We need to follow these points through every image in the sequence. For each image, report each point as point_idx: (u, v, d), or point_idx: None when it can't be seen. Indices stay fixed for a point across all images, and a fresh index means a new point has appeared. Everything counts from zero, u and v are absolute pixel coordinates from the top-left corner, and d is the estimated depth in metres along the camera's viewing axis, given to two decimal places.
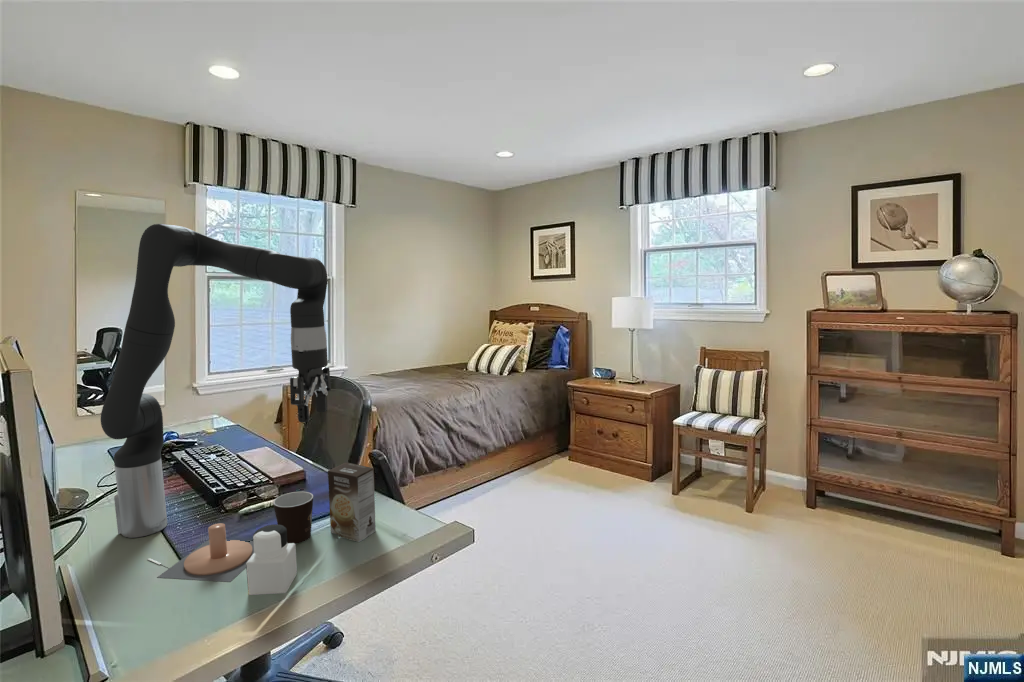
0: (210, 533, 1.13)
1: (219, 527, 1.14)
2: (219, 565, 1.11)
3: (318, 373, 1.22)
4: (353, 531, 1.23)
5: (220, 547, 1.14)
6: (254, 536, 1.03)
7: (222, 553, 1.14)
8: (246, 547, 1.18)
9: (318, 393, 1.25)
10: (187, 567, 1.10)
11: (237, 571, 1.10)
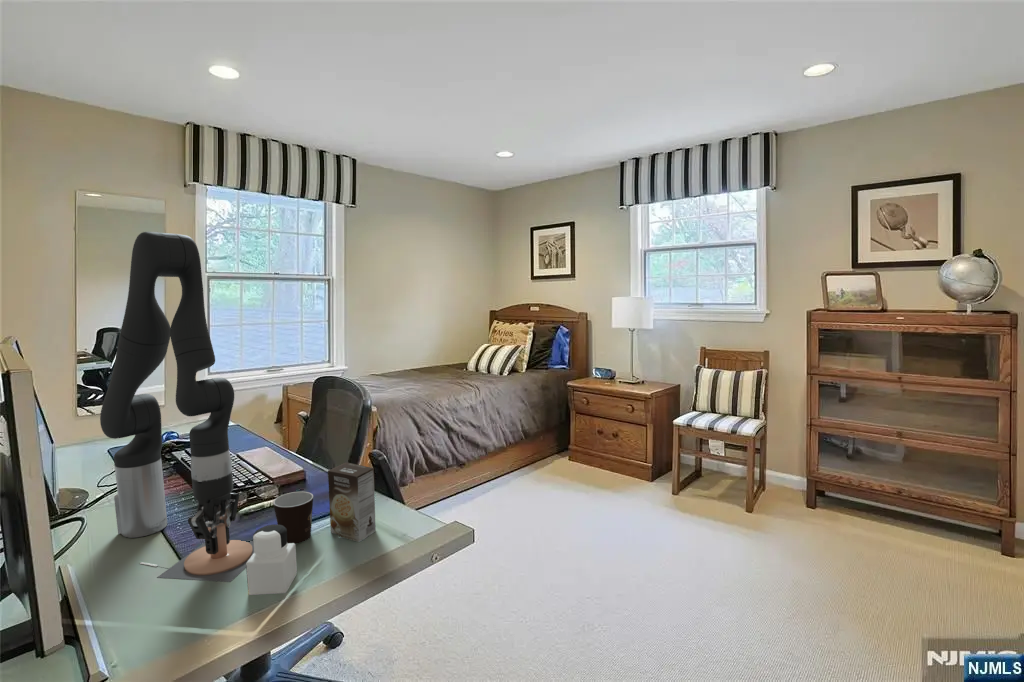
0: None
1: (219, 527, 1.14)
2: (219, 565, 1.11)
3: (223, 498, 1.15)
4: (353, 531, 1.23)
5: (220, 546, 1.14)
6: (254, 536, 1.03)
7: (222, 553, 1.14)
8: (246, 547, 1.18)
9: None
10: (187, 567, 1.10)
11: (237, 571, 1.10)
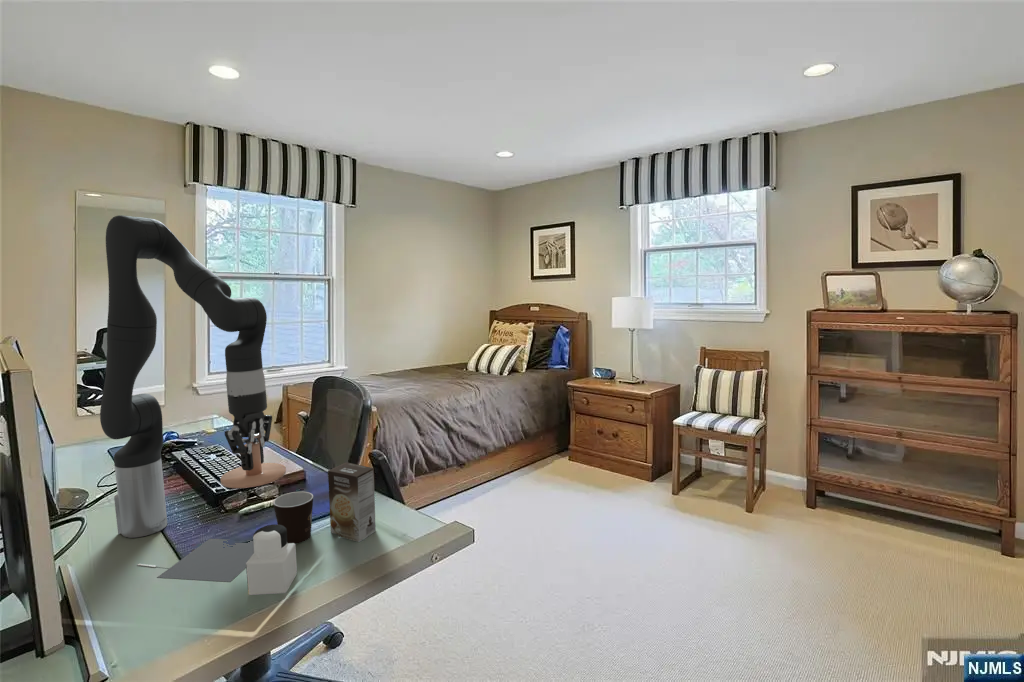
0: None
1: (254, 445, 1.16)
2: (255, 480, 1.13)
3: (257, 417, 1.17)
4: (353, 531, 1.23)
5: (255, 463, 1.16)
6: (254, 536, 1.03)
7: (257, 470, 1.16)
8: (279, 467, 1.20)
9: None
10: (224, 481, 1.13)
11: (237, 571, 1.10)
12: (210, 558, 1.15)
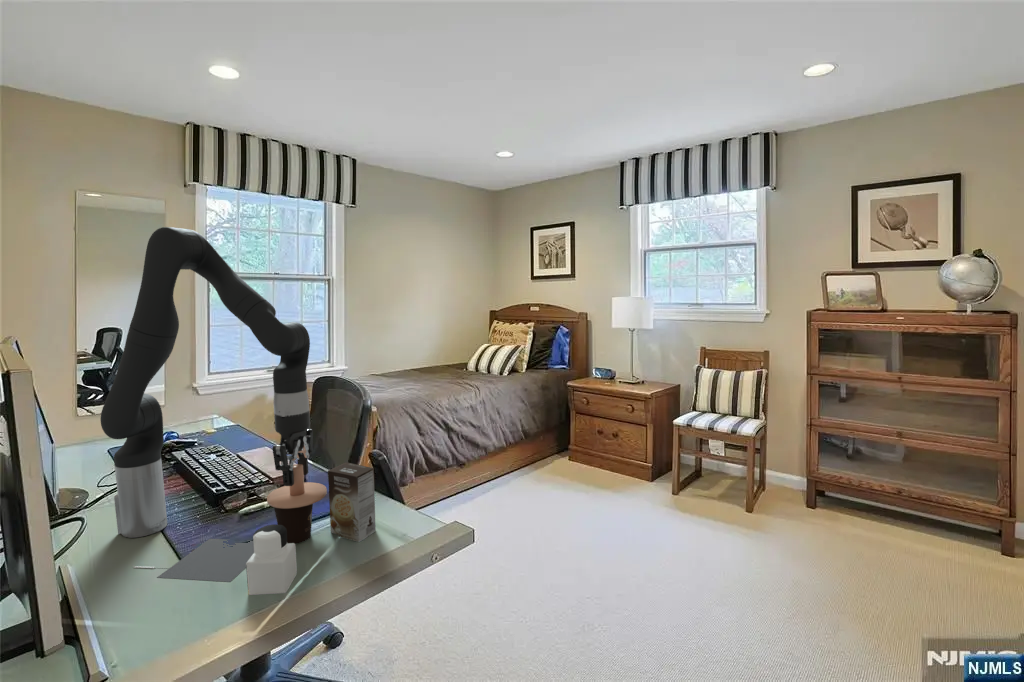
0: None
1: (298, 467, 1.23)
2: (300, 500, 1.20)
3: (301, 435, 1.24)
4: (353, 531, 1.23)
5: (299, 484, 1.23)
6: (254, 536, 1.03)
7: (301, 491, 1.23)
8: (320, 487, 1.28)
9: (299, 456, 1.27)
10: (271, 502, 1.20)
11: (237, 571, 1.10)
12: (210, 558, 1.15)
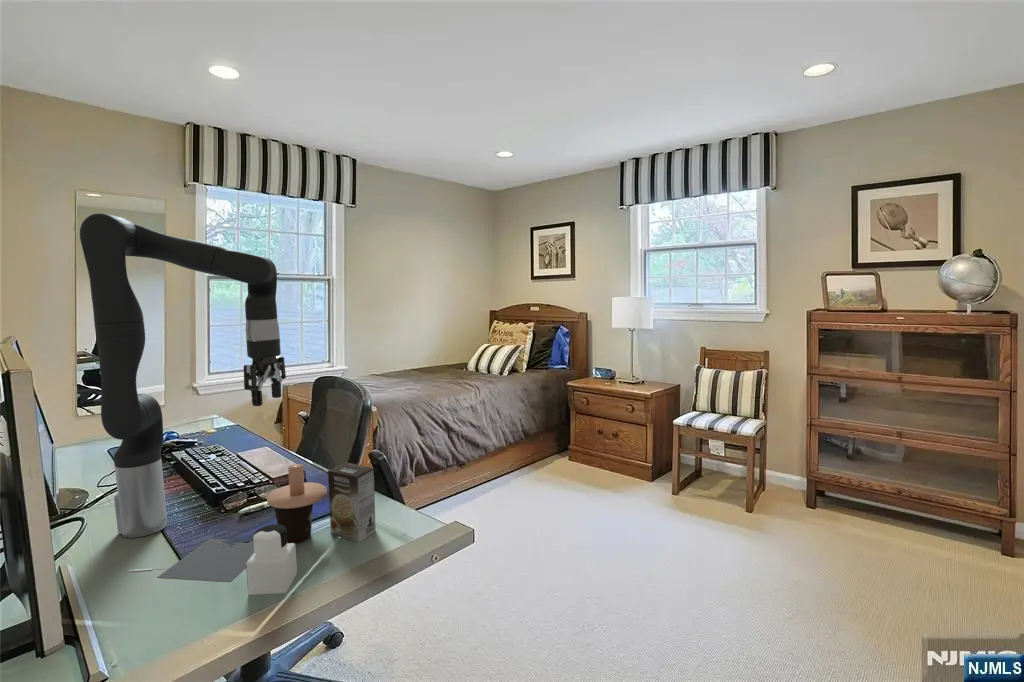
0: (290, 472, 1.22)
1: (298, 467, 1.23)
2: (300, 500, 1.20)
3: (272, 362, 1.33)
4: (353, 531, 1.23)
5: (299, 484, 1.23)
6: (254, 536, 1.03)
7: (301, 491, 1.23)
8: (320, 487, 1.28)
9: (273, 380, 1.37)
10: (271, 502, 1.20)
11: (237, 571, 1.10)
12: (210, 558, 1.15)
